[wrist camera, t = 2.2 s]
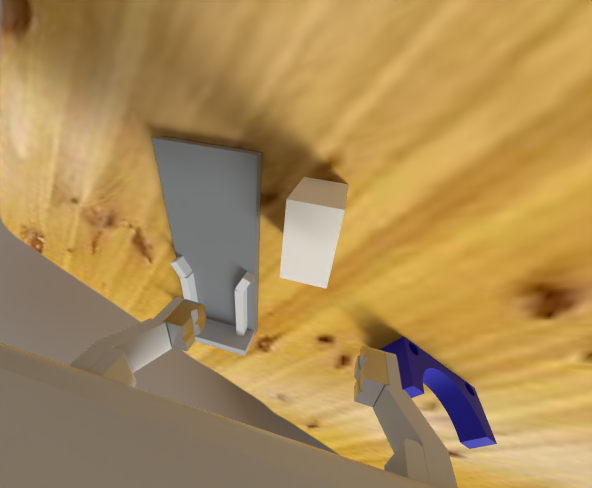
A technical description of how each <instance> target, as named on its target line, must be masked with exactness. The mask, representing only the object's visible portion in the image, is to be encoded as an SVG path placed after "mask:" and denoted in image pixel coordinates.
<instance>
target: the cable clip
mask: <svg viewBox="0 0 592 488" xmlns="http://www.w3.org/2000/svg"><path fill="white" fill-rule="evenodd" d="M380 350H382V351H385V352H388V353H392V354H395V355H396V356H397V361H398V367H399V373H400V379H401V386H402V390H405V391H406V392H407V393H408V395H409V396H410V398H413V397H416V396H418V395H421V394H424V389H423V383H424V384H426V385H427V386H428V387H429V388H430V389H431V390H432V391H433V393H434V394H435V395H436V396H437V398H438V399H439V400H440V402H441V403H442V405H443V406H444V408H445V409H446V411H447V413H448V415H449V417H450V418H451V420H452V423H453V425H454V427H455V429H456V432H457V434H458V437H459V440H460V443H462V444H463V445H465V446H466V447H468V448H469V449H471V448H477V447H482V446H487V445H493V444H497V443H496V440H495V438H494V435H493V433H492V430H491V428H490V425H489V423H488V421H487V418H486V416H485V413H484V411H483V408H482V406H481V403H480V401H479V398H478V396H477V393H476V391H475V388H474V387H472V386H471V385H470V384H468V383H467V382H465V381H464V380H463V379H461V378H460V377H459V376H457V375H456V374H455V373H453V372H452V371H450V370H449V369H448V368H446V367H445V366H444V365H442V364H441V363H439V362H438V361H437V360H435V359H434V358H433V357H431V356H430V355H429V354H427V353H426V352H424V351H423V350H422V349H420V348H419V347H418V346H416V345H415V344H413V343H412V342H411V341H409V340H408V339H407V338H405V337H402V338H400V339H398V340H397V341H395V342H393V343H391V344H389V345H387V346H385V347H383V348H382V349H380Z"/></svg>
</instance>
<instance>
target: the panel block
mask: <svg viewBox="0 0 592 488" xmlns="http://www.w3.org/2000/svg"><path fill="white" fill-rule="evenodd" d="M347 191H348V184H344V183H338V182H332V181H327V180H321V179H315V178H309V177H303V178H302V180H301V181H300V182H299V184H298V185H297V186H296V187H295V189H294V190H293V191H292V193H291V194H290V195H289V197H288V198H287V199H286V210H285V222H284V234H283V245H282V257H281V268H280V278H284V279H288V280H292V281H297V282H301V283H305V284H309V285H313V286H318V287H322V288H326V289H327V285H328V280H329V276H330V272H331V267H332V263H333V259H334V254H335V250H336V246H337V241H338V237H339V233H340V228H341V224H342V220H343V215H344V211H345V205H346V198H347Z"/></svg>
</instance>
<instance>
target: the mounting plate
mask: <svg viewBox="0 0 592 488" xmlns="http://www.w3.org/2000/svg"><path fill="white" fill-rule="evenodd" d="M152 141H153V146H154V151H155V156H156V161H157V166H158V171H159V175H160V180H161V185H162V190H163V195H164V200H165V205H166V210H167V215H168V220H169V225H170V229H171V234H172V239H173V244H174V249H175V254H176V258H175V259H174V260H173V261H172V262H171V263H170V264H171V266H172V267H173V268H174V270H175V271H176V273H177V274H178V276H179V277H180V281H181V286H182V291H183V296H184V299H188V300H191V301H194V302H198V303H201V304H204V305H205V310H204V313H205V315H206V324H205V326H204V329H203V330H202V331H201V333H200V334H198V335H196V336H195V341H196V342H200V343H203V344H207V345H210V346H213V347H217V348H220V349H224V350H227V351H231V352H234V353H238V354H241V355H244V356H245V355H246V353H247V351H248V349H249V347H250V344H251V342H252V340H253V338H254V336H255V333H256V331H257V323H258V283H259V242H260V202H261V161H262V152H256V151H250V150H244V149H237V148H231V147H225V146H219V145H212V144H206V143H200V142H194V141H187V140H181V139H175V138H169V137H162V136H160V137H154V138H152Z"/></svg>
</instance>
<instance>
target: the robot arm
mask: <svg viewBox="0 0 592 488" xmlns="http://www.w3.org/2000/svg"><path fill="white" fill-rule="evenodd" d="M204 310H205V305H204V304H201V303H198V302H194V301H191V300H188V299H184V298H180V297H176V298H174V299H173V300H172V301H171V302H170V303H169V304H168V305H167V306H166V307H165V308H164V309H163V310H162V311H161V312H160V313H159V314H158V315H157V316H156V317H155V318H154V319H151V318H150V319H148V320H146V321H143V322H141V323H138V324H136V325H134V326H131V327H129V328H127V329H124V330H122V331H119V332H117V333H115V334H113V335H110V336H108V337H105V338H103V339H101V340H98V341H96V342H95V343H94V344H93V345H92V346H90V347H89V348H88V349H87V350H86V351H85V352H84V353H82V354H81V355H80V356H79V357H78V358H77V359H76V360H74V361H73V362H72V363H71V364H70V365H66V364H63V363H60V362H57V361H54V360H51V359H48V358H45V357H42V356H39V355H36V354H33V353H30V352H27V351H24V350H21V349H18V348H15V347H12V346H10V345H7V344H4V343H0V488H458V487H457V483H456V479H455V475H454V472H453V468H452V464H451V460H450V457H449V453H448V450H447V448H446V447H445V446H444V444H443V443H442V441H441V440H440V439H439V437H438V436H437V434H436V433H435V431H434V430H433V429H432V427H431V426H430V424H429V423H428V422H427V420H426V419H425V417H424V416H423V415H422V413H421V412H420V410H419V409H418V407H417V406H416V405H415V403H414V402H413V400H412V399H411V398H410V396H409V395H408V393H407V392H406V391H405V390H402V386H401V379H400V373H399V367H398V361H397V356H396V355H395V354H392V353H388V352H385V351H382V350H378V349H374V348H370V347H366V346H362V347H361V349H360V356H358V357H357V360H356V364H355V375H354V377H355V379H356V380H357V381H356V383H355V386H354V401H355V402H358V403H362V404H365V405H368V406H371V407H373V410H374V412H375V414H376V416H377V418H378V420H379V422H380V424H381V426H382V428H383V430H384V433H385V435H386V437H387V439H388V441H389V443H390V445H391V447H392V449H393V451H394V454H393V456H392V457H391V458H390V459H389V461H388V462H387V463H386V464H385V466H384V468H385V470H382V469H379V468H376V467H373V466H370V465H367V464H364V463H361V462H358V461H355V460H352V459H349V458H346V457H343V456H340V455H337V454H334V453H331V452H328V451H325V450H322V449H319V448H316V447H313V446H310V445H307V444H304V443H301V442H298V441H295V440H292V439H289V438H286V437H283V436H280V435H277V434H274V433H271V432H268V431H265V430H262V429H259V428H255V427H253V426H250V425H247V424H243V423H241V422H238V421H235V420H232V419H229V418H226V417H223V416H220V415H217V414H214V413H211V412H208V411H205V410H202V409H199V408H195V407H193V406H190V405H187V404H184V403H181V402H178V401H175V400H172V399H169V398H166V397H163V396H160V395H157V394H154V393H151V392H148V391H145V390H142V389H139V388H136V387H134V386H135V385H136V379H135V377H134V375H133V373H134V372H135V371H136V370H138V369H140V368H141V367H143V366H144V365H146V364H148V363H149V362H151V361H152V360H154V359H156V358H157V357H159V356H160V355H162V354H163V353H165V352H167V351H168V350H170V349H171V348H172V347H173V348H176V349H180V350H184V351H188V350H189V348H190V347H191V346H192V344H193V343H194V341H195V336H196V335H198V334H200V333H201V331H202V330H203V329H204V326H205V324H206V315H205V313H204Z"/></svg>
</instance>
